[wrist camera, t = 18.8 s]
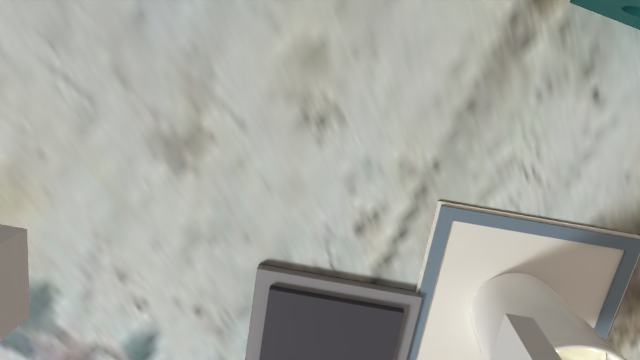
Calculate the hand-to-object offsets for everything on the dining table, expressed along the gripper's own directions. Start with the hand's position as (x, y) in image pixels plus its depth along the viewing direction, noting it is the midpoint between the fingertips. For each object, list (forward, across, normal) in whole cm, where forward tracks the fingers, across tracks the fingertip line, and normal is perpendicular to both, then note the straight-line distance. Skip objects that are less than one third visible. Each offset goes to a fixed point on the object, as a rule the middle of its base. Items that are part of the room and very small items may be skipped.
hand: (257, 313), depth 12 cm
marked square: (+29, +21, -14) cm, 38 cm away
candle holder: (+29, +21, -14) cm, 38 cm away
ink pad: (+29, +4, -22) cm, 36 cm away
